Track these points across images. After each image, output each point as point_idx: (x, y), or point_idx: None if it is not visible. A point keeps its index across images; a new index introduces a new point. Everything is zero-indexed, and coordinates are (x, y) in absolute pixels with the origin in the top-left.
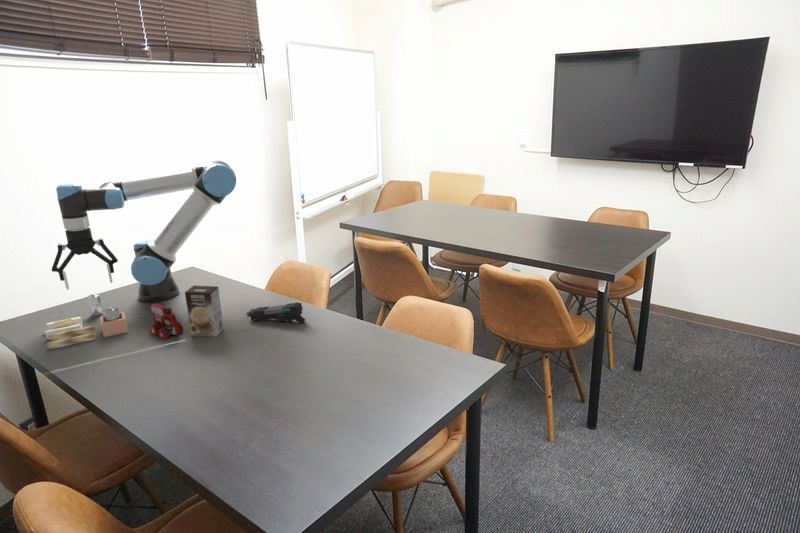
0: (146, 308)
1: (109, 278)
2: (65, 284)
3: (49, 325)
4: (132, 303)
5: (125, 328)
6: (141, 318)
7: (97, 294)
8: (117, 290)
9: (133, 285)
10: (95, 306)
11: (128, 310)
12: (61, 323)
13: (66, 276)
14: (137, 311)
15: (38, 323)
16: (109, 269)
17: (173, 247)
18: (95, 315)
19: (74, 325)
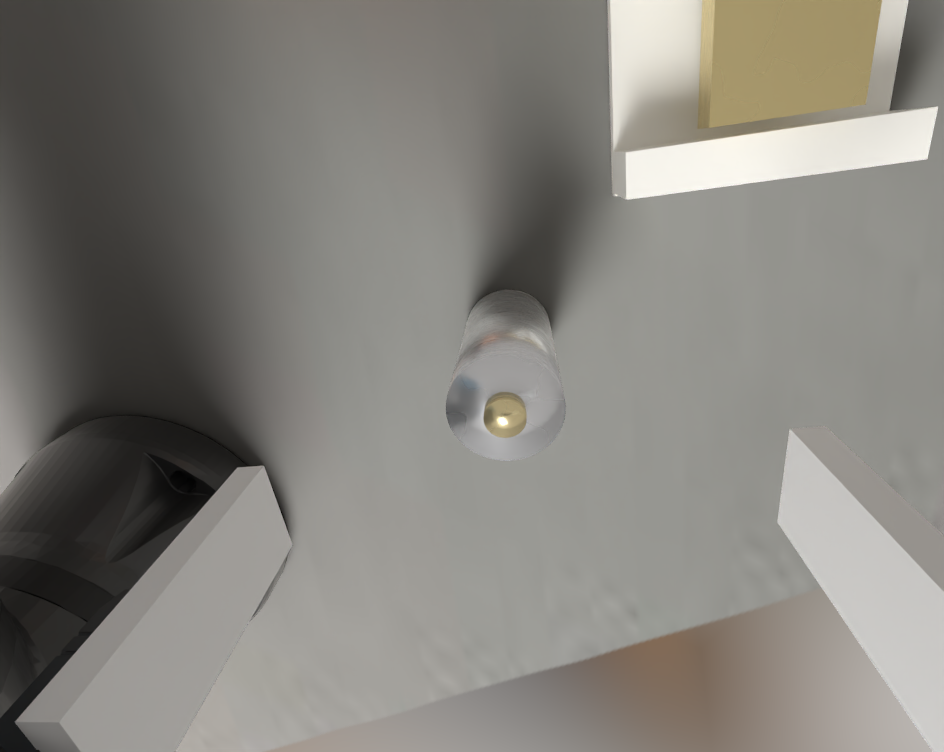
0: (180, 315)
1: (230, 505)
2: (880, 478)
3: (902, 112)
4: (308, 457)
5: None
6: (151, 94)
7: (471, 433)
8: (443, 690)
9: (366, 718)
10: (503, 319)
11: (305, 335)
12: (812, 6)
13: (912, 650)
14: (231, 282)
15: (918, 373)
16: (100, 637)
17: None
18: (519, 295)
19: None
